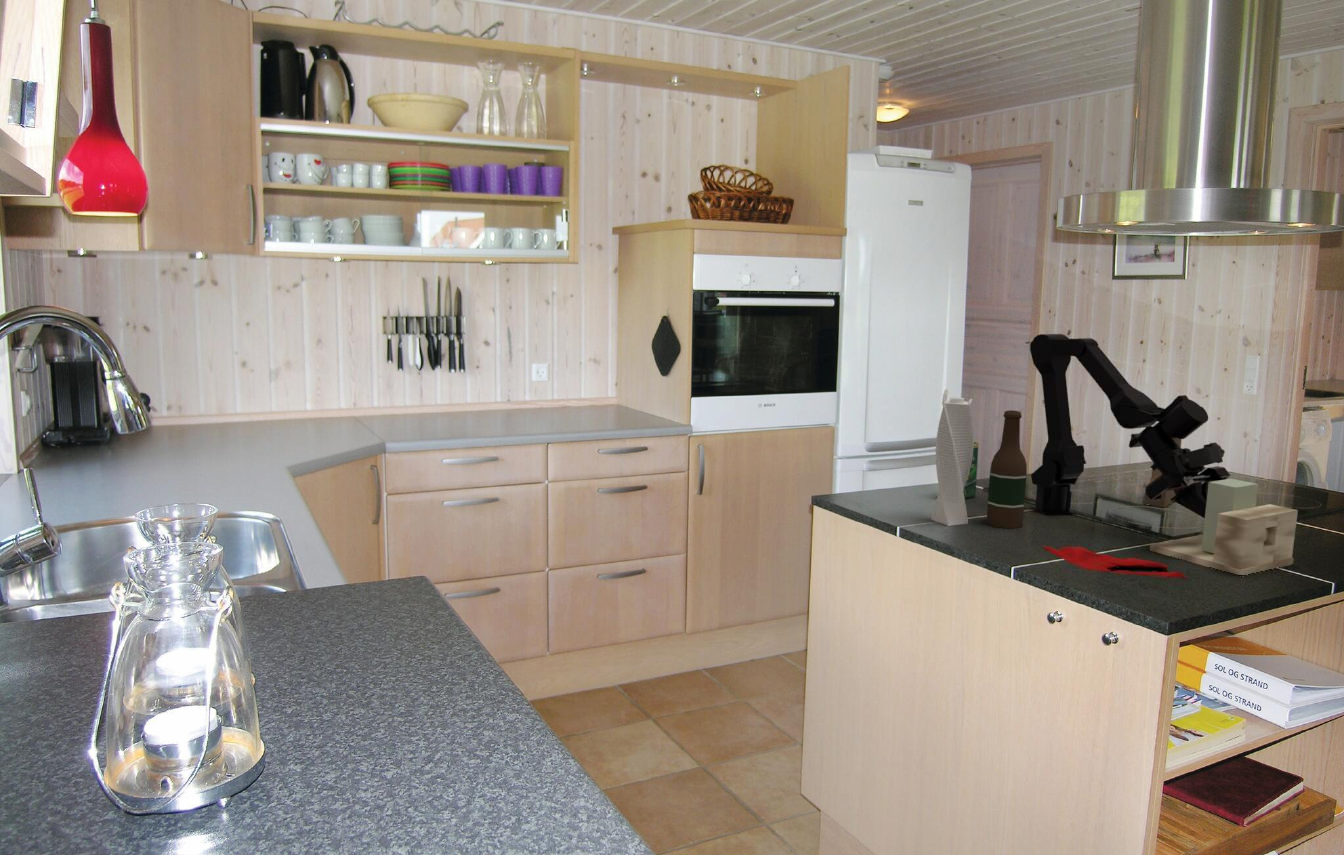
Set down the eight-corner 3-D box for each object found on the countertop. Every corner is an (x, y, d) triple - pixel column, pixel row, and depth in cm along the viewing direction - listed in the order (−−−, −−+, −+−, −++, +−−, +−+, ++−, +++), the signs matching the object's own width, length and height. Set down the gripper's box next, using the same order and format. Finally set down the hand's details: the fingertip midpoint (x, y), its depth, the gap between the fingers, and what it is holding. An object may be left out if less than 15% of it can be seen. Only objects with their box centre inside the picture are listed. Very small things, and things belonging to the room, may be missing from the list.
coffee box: (952, 501, 220) (956, 445, 218) (943, 499, 222) (946, 443, 220) (976, 497, 224) (980, 442, 222) (966, 495, 227) (970, 440, 224)
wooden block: (1164, 508, 217) (1172, 430, 214) (1143, 504, 220) (1150, 427, 217) (1175, 501, 223) (1183, 425, 220) (1154, 498, 226) (1162, 423, 223)
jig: (1149, 550, 183) (1155, 498, 181) (1200, 540, 190) (1206, 490, 189) (1241, 576, 168) (1248, 520, 166) (1292, 564, 175) (1299, 510, 174)
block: (1201, 549, 178) (1208, 482, 176) (1223, 545, 182) (1231, 478, 180) (1249, 562, 171) (1258, 492, 168) (1272, 557, 174) (1280, 488, 172)
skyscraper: (922, 518, 204) (930, 388, 200) (950, 515, 207) (959, 387, 202) (947, 527, 197) (955, 393, 192) (975, 524, 200) (984, 392, 195)
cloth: (1022, 554, 181) (1023, 542, 181) (1066, 543, 189) (1066, 532, 189) (1154, 593, 160) (1155, 580, 160) (1198, 580, 168) (1199, 567, 167)
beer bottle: (1030, 524, 201) (1039, 411, 197) (1014, 531, 195) (1023, 415, 191) (994, 517, 206) (1002, 407, 202) (978, 523, 201) (986, 410, 197)
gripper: (1165, 432, 177) (1217, 502, 169) (1225, 425, 186) (1277, 492, 178) (1123, 466, 185) (1171, 535, 177) (1183, 458, 194) (1231, 523, 186)
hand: (1214, 520), depth 179 cm, fingers closed
